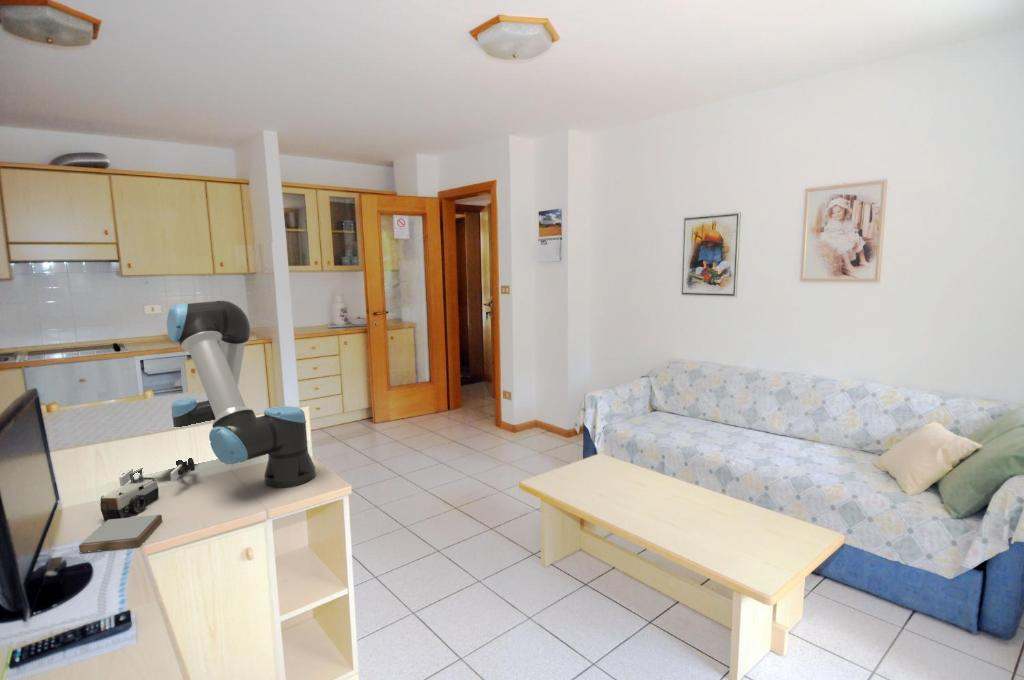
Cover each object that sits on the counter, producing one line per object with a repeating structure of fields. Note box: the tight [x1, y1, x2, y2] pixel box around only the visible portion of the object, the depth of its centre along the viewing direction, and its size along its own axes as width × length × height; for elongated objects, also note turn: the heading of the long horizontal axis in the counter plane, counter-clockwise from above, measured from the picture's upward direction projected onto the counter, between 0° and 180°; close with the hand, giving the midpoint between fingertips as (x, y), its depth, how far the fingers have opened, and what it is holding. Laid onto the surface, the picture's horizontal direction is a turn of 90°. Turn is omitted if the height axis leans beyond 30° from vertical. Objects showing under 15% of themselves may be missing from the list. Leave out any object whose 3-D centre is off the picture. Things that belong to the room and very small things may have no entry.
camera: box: [99, 468, 160, 522], centre depth 153 cm, size 15×8×10 cm, turn 172°
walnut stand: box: [78, 514, 163, 553], centre depth 138 cm, size 13×13×2 cm
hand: (146, 479), depth 159 cm, fingers open, 13 cm apart
